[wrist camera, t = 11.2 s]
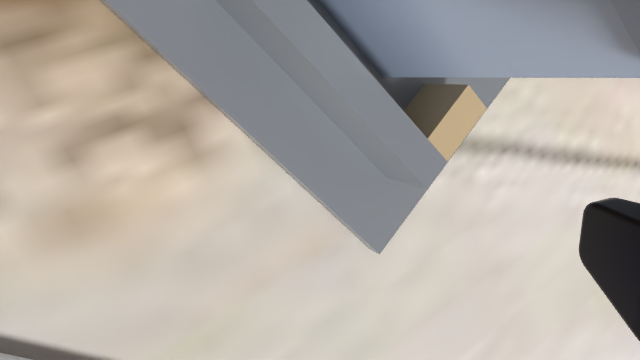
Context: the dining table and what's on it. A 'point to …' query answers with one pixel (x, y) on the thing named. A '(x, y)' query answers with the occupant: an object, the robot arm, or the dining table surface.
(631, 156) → the dining table surface
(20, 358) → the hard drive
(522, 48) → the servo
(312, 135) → the chassis
